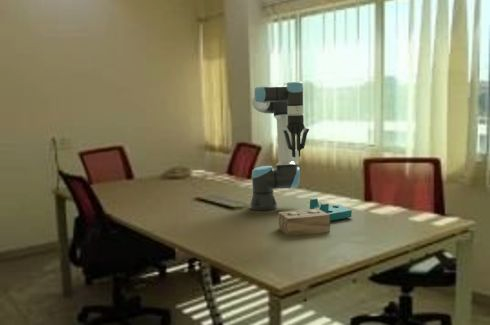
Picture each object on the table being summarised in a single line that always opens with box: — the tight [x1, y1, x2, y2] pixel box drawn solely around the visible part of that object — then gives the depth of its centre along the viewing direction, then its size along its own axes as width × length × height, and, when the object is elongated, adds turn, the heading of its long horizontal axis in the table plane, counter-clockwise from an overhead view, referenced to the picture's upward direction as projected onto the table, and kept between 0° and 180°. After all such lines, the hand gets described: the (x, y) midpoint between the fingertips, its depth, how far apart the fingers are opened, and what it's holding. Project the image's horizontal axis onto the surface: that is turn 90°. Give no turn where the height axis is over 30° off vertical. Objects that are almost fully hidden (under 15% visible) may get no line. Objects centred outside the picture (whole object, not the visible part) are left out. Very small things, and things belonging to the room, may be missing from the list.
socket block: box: [278, 208, 331, 237], centre depth 248 cm, size 14×20×8 cm
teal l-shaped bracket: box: [309, 197, 353, 222], centre depth 267 cm, size 18×11×10 cm, turn 117°
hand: (296, 163), depth 254 cm, fingers closed
